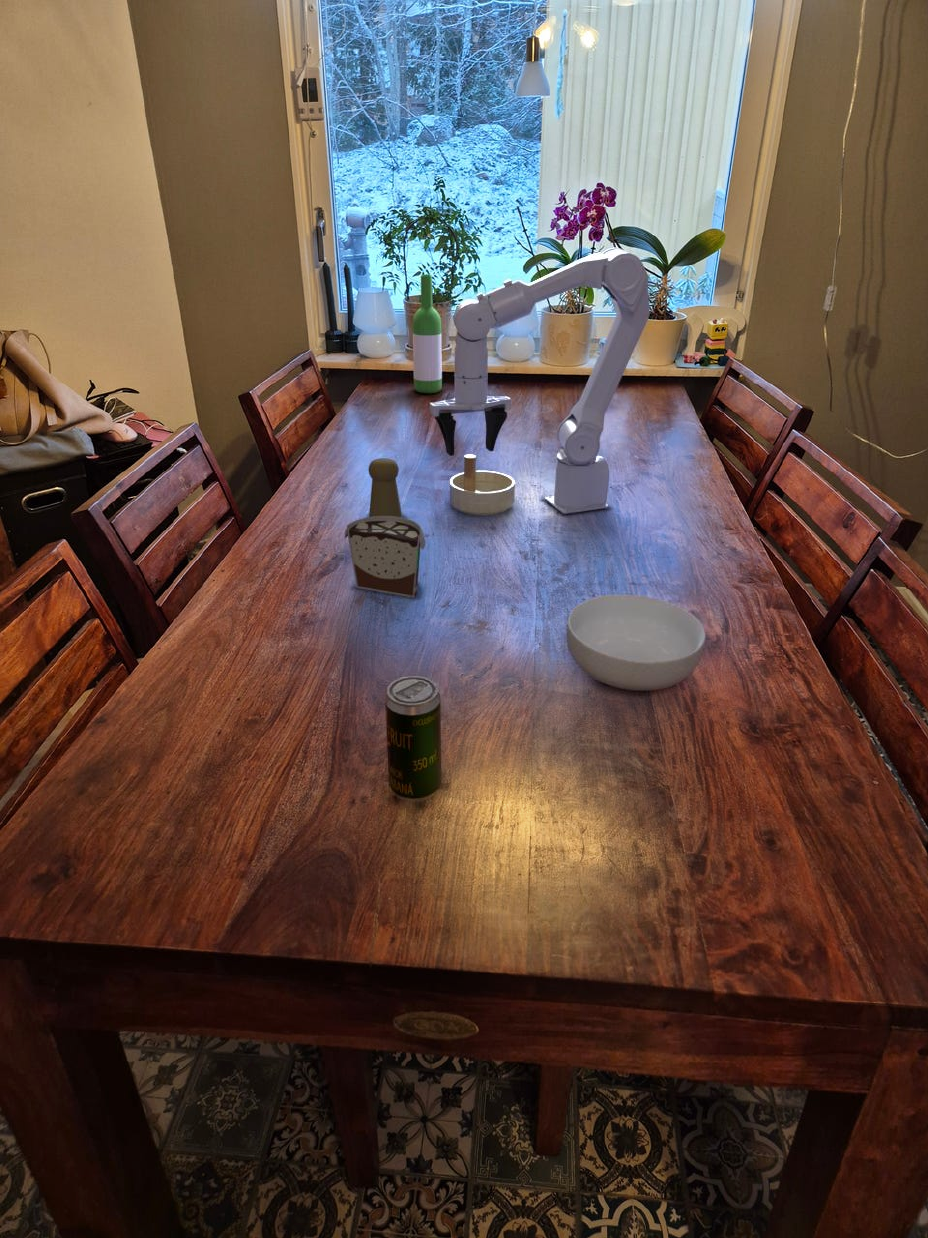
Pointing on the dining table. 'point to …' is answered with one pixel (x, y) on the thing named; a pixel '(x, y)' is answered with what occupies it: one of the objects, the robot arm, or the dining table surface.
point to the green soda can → (413, 738)
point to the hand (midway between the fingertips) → (470, 451)
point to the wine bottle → (427, 342)
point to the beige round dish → (483, 493)
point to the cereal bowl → (635, 641)
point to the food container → (386, 554)
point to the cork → (384, 488)
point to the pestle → (470, 473)
